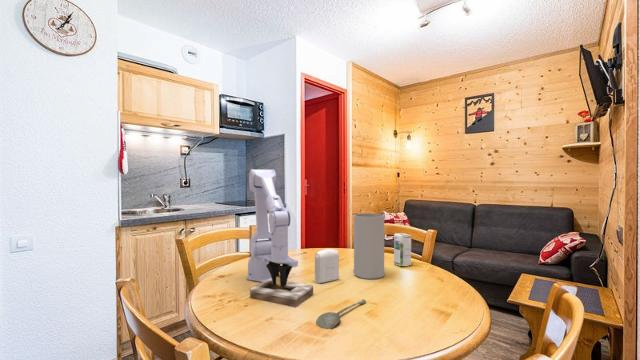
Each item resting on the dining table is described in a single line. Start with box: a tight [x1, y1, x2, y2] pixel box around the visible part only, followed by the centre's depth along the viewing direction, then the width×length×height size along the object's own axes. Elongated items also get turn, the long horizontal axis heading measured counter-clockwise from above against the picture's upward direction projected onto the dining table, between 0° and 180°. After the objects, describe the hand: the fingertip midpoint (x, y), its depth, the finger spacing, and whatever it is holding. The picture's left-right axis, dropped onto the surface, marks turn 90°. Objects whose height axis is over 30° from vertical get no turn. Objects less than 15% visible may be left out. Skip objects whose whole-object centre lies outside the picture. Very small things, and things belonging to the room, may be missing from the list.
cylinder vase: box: [353, 212, 385, 280], centre depth 129 cm, size 12×12×25 cm
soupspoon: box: [315, 298, 367, 330], centre depth 92 cm, size 22×3×7 cm
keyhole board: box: [249, 278, 314, 308], centre depth 107 cm, size 18×12×3 cm, turn 64°
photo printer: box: [314, 248, 340, 284], centre depth 122 cm, size 10×4×12 cm, turn 123°
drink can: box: [393, 232, 412, 267], centre depth 143 cm, size 6×6×14 cm
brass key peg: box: [274, 273, 287, 290], centre depth 107 cm, size 5×5×6 cm
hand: (279, 284), depth 107 cm, fingers closed on brass key peg, 3 cm apart
